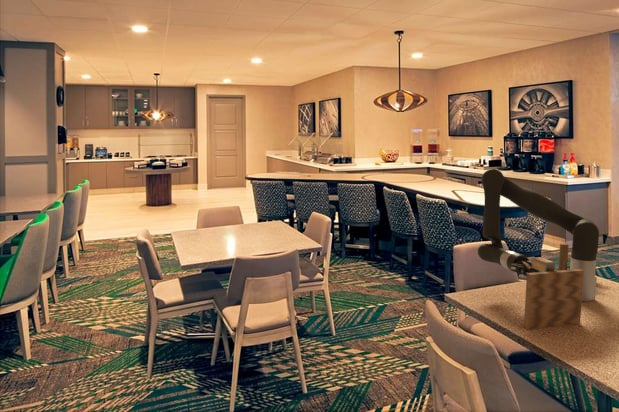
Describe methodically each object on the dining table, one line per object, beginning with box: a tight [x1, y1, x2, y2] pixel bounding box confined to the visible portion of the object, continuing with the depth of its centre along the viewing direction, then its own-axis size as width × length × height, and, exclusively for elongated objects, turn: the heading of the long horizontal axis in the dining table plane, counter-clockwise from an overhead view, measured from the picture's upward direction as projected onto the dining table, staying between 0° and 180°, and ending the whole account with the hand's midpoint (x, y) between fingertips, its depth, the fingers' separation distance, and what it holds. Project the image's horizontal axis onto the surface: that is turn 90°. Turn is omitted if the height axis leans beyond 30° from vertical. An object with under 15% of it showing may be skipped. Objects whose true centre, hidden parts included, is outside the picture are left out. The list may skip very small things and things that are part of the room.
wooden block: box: [557, 242, 570, 271], centre depth 229 cm, size 4×11×18 cm, turn 58°
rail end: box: [531, 256, 556, 272], centre depth 184 cm, size 3×8×11 cm, turn 13°
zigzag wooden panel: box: [523, 269, 584, 330], centre depth 181 cm, size 22×7×20 cm, turn 103°
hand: (543, 273), depth 183 cm, fingers closed on rail end, 3 cm apart
